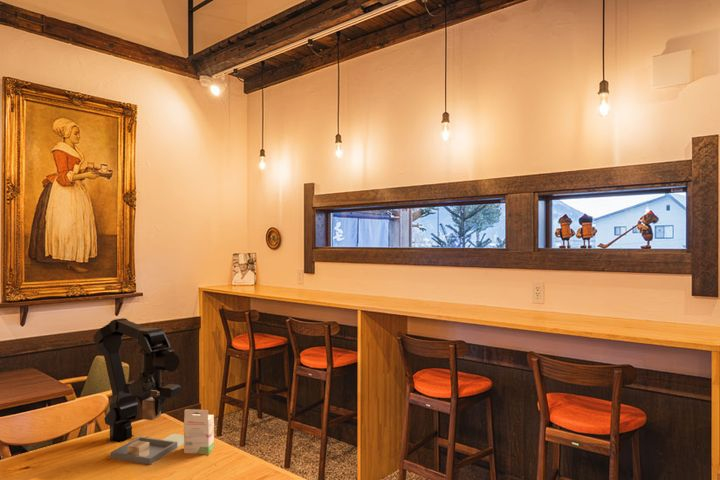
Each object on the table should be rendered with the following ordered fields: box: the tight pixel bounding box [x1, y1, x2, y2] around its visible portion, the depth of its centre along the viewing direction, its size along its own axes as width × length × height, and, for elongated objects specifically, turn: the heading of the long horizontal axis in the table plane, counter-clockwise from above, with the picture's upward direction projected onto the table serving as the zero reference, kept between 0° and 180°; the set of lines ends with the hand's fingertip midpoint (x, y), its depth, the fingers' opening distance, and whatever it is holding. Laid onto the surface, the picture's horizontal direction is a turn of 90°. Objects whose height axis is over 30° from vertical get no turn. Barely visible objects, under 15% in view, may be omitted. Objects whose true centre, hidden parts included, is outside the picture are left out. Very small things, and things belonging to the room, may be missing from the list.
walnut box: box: [141, 396, 162, 421], centre depth 161 cm, size 4×4×6 cm
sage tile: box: [162, 433, 184, 448], centre depth 168 cm, size 9×9×1 cm
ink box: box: [183, 408, 215, 456], centre depth 160 cm, size 9×5×15 cm, turn 84°
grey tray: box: [110, 436, 178, 466], centre depth 158 cm, size 15×13×2 cm
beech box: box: [127, 441, 149, 457], centre depth 155 cm, size 4×4×4 cm
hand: (151, 414), depth 161 cm, fingers closed on walnut box, 4 cm apart
